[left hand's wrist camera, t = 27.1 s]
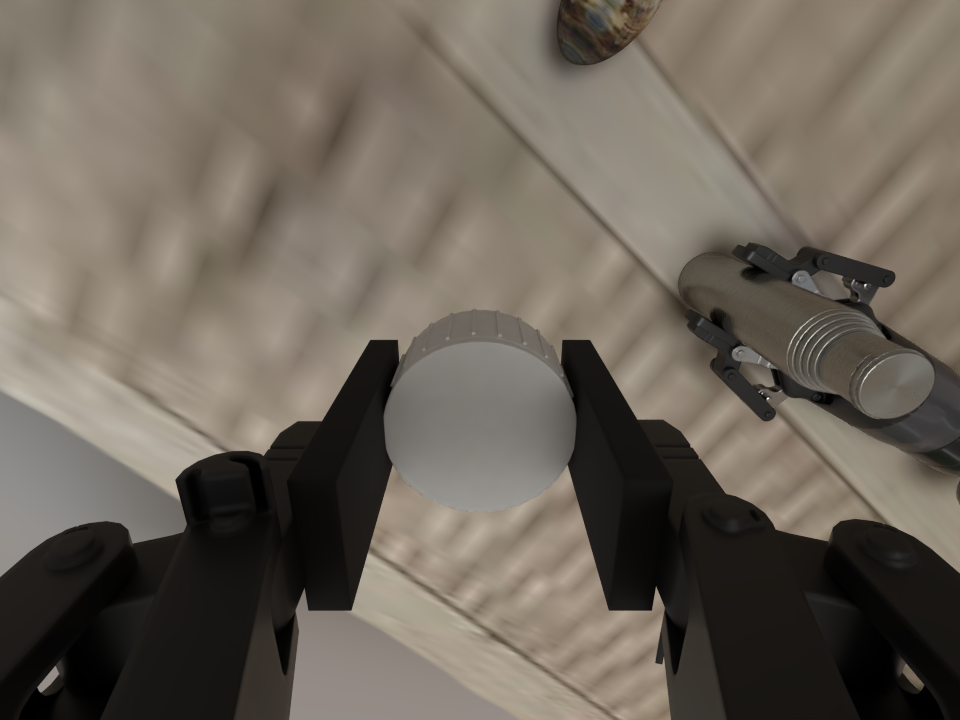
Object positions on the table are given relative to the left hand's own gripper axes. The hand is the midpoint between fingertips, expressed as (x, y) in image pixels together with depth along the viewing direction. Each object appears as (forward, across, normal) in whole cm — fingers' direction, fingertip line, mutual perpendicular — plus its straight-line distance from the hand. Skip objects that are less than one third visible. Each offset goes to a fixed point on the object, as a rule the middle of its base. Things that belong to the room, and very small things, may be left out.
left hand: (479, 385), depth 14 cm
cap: (-2, 0, 0) cm, 2 cm away
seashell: (+30, +9, +16) cm, 35 cm away
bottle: (+30, +19, -4) cm, 36 cm away
